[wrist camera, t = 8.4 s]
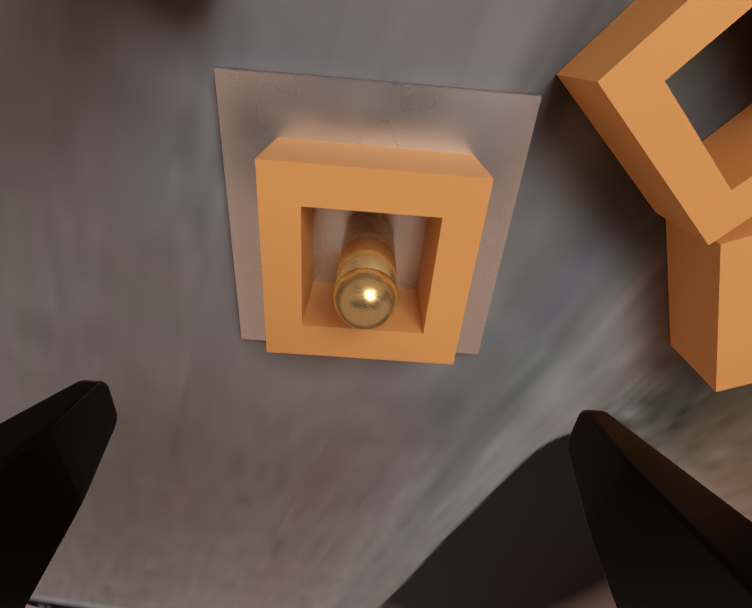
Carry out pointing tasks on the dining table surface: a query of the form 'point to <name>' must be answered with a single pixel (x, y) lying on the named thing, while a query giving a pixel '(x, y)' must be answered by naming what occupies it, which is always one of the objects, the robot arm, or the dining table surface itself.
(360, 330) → the end link
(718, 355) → the chain link
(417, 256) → the plate with brass peg
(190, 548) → the dining table surface
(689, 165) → the chain link
